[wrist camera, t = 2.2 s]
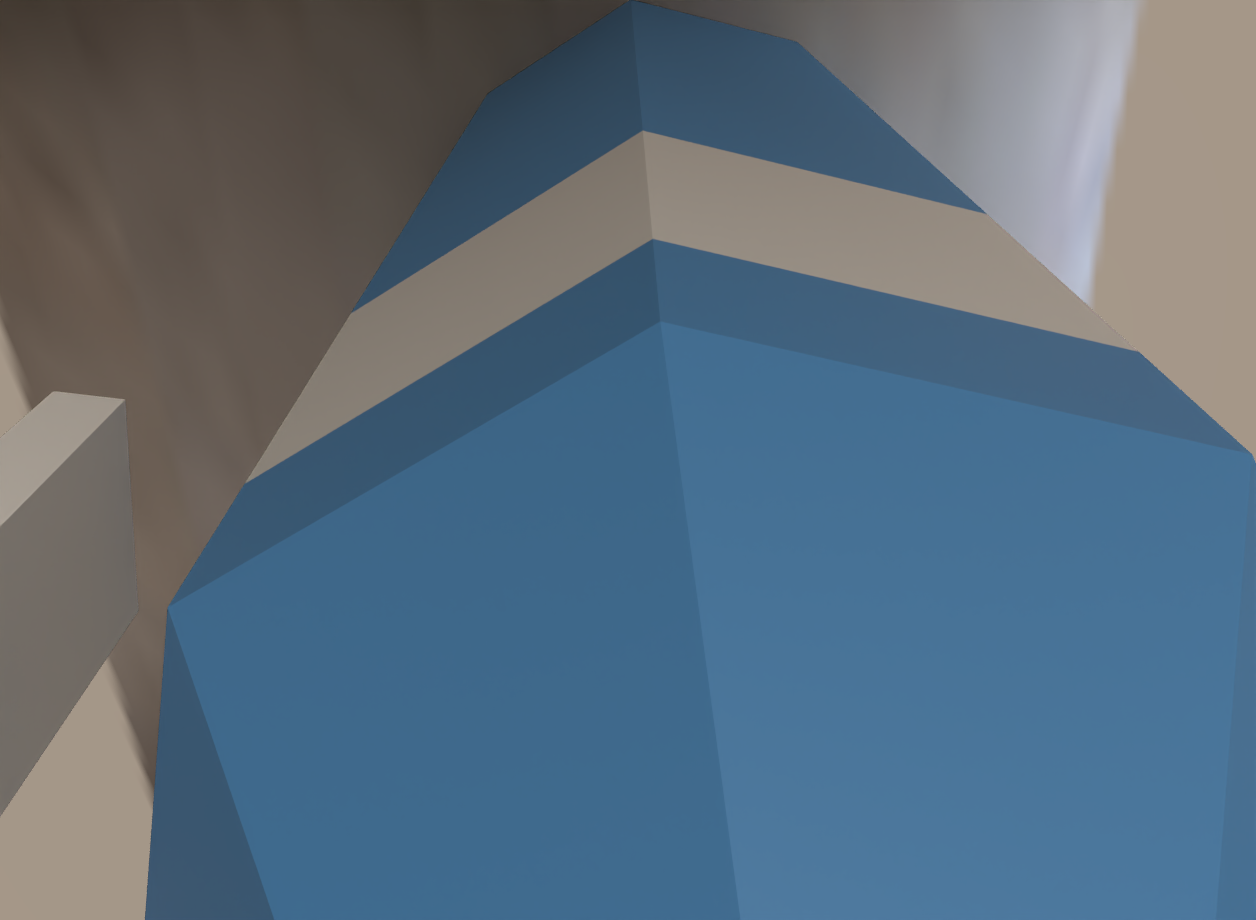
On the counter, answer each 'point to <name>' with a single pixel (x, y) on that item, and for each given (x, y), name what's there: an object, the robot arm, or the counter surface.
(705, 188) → the water bottle
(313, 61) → the counter surface
